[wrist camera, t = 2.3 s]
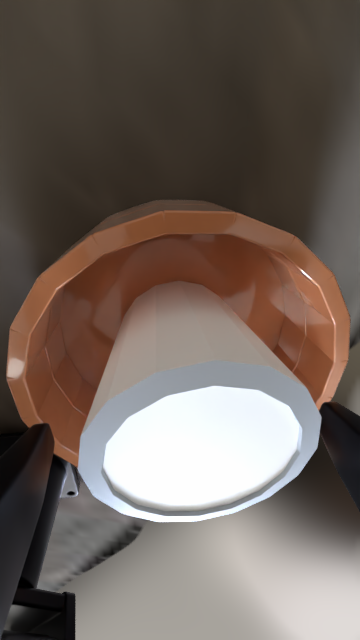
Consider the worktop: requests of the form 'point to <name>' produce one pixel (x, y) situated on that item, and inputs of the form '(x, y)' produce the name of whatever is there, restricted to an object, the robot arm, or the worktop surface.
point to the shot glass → (193, 412)
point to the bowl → (159, 268)
